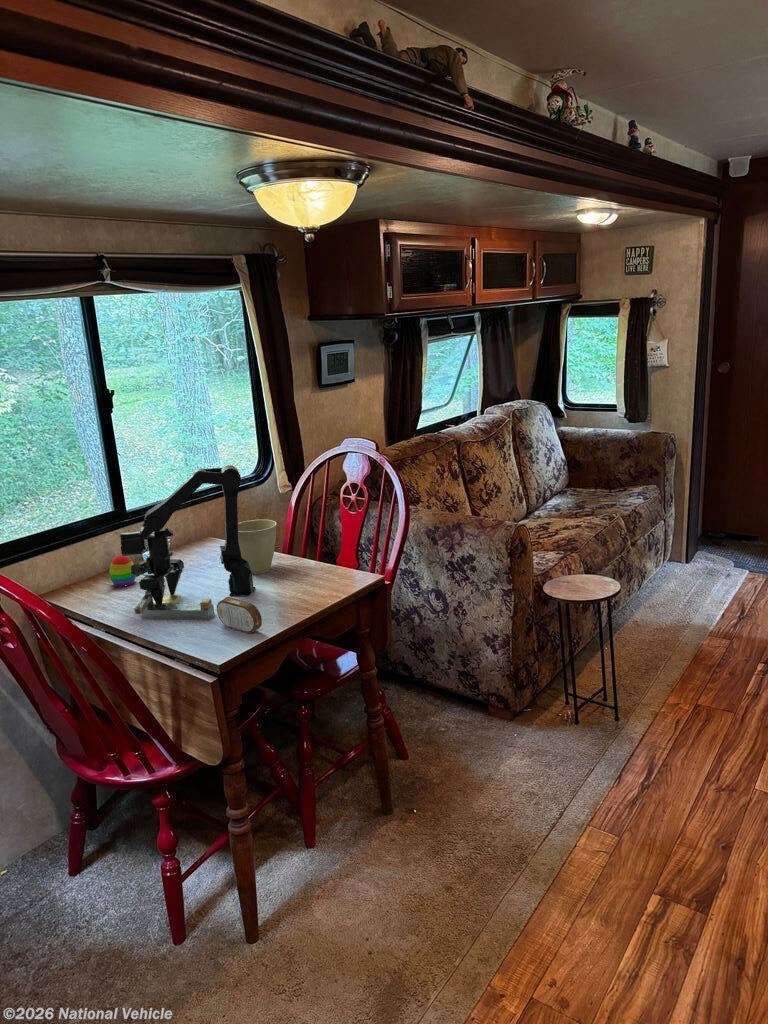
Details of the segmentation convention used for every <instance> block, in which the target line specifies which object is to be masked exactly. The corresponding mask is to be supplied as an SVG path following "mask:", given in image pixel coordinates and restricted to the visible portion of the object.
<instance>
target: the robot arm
mask: <svg viewBox="0 0 768 1024" xmlns="http://www.w3.org/2000/svg"><path fill="white" fill-rule="evenodd" d="M191 474H192V475H190V476H189V477H188V478H187V479H186V480H185V481H184V482H183V483H181V484H180V486H178V488H176V489H175V490H174V492H172V493H171V494H170V495H169V496H168V497H167V498H166V499H164V500H163V501H162V502H159V503H158V504H156V505H155V506H153V507H151V508H150V509H148V510H147V511H146V512H145V515H144V519H143V524H142V526H140V530H139V531H133V532H132V531H130V532H121V533H120V535H119V538H120V553H121V555H122V556H127V557H129V556H136V555H137V556H138V555H142V554H144V551H146V550H147V547H148V554H149V555H148V556H147V557H146V559H145V560H141V561H140V562H136V563H133V565H131V574H133V575H136V578H138V577H141V575H144V574H147V575H145V576H144V577H143V578H142V579H140V580H139V582H138V587H139V589H140V590H143V591H152V598H153V600H154V601H155V602H156V604H162V602H163V596H164V595H165V591H166V585H165V582H166V584H167V588H168V591H169V595H176V594H175V593H176V590H177V587H178V584H179V582H180V579H181V575H182V573H183V571H184V570H183V569H185V564H184V561H183V560H182V559H180V558H179V559H173V558H172V559H171V557H172V556H173V551H170V547H169V540H168V537H174V530H171V529H170V528H169V526H166V524H167V523H168V522H169V520H170V519H171V517H172V515H173V514H174V513H175V511H176V510H177V509H178V508H179V507H180V506H181V505H182V504H184V502H185V501H186V500H187V499H189V498H190V497H191V496H192V495H193V494H194V493H195V492H196V491H197V490H198V489H199V488H200V487H201V486H203V485H205V484H209V485H216V486H218V485H219V486H220V485H221V487H222V492H223V498H224V499H223V500H224V523H225V525H224V528H225V542H224V545H220V546H219V548H220V558H219V559H220V563H221V565H223V567H224V570H225V571H226V572H228V573H230V574H229V579H227V580H228V589H229V592H230V593H229V597H233V596H234V597H235V596H238V597H239V596H241V597H242V596H243V597H244V596H245V597H247V596H251V595H252V593H253V592H254V591H255V590H256V586H254V579H253V577H254V576H253V574H252V572H251V569H250V566H249V563H248V562H247V561H246V560H245V559H243V558H242V556H241V551H240V547H239V542H238V523H239V519H238V518H239V517H238V513H239V512H238V495H239V491H240V485H241V480H242V479H241V478H242V477H241V474H240V471H239V469H238V468H237V467H236V466H234V465H233V464H232V465H231V464H228V465H224V466H222V467H213V468H211V467H210V468H196V469H195V470H194V472H193V473H191ZM165 526H166V527H165ZM164 527H165V528H164ZM146 540H147V543H146ZM165 579H166V581H165Z"/></svg>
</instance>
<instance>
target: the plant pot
mask: <svg viewBox="0 0 768 1024" xmlns="http://www.w3.org/2000/svg"><path fill="white" fill-rule="evenodd" d="M277 525H278V524H277V522H276V521H275V520H271V519H253V520H245V521H242V522H238V542H239V547H240V551H241V556H242V558H243V559H245V560H246V561H247V562H248V563H249V566H250V569H251V572H252V575H258V574H265V573H268V572H269V571H270V570H271V567H272V563H273V558H274V553H275V547H276V539H277Z"/></svg>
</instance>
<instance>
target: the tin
mask: <svg viewBox="0 0 768 1024" xmlns="http://www.w3.org/2000/svg"><path fill="white" fill-rule="evenodd" d="M216 611H217V616H218V619H219V620H220V622H221V623H222V625H224V626H225V627H226V628H230V629H233V630H236V631H240V632H243V633H246V634H252V633H254V632H255V631H257V630H259V629H260V628H261V626H262V624H263V618H262V615H261V612H260V611H259V609H258V607H256V605H255V604H254V603H252V602H250V601H248V600H247V601H246V600H243V599H240V598H235V597H233V596H226V597H225V598H223V599H222V600H219V602H218V603H217V604H216Z"/></svg>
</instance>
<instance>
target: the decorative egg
mask: <svg viewBox="0 0 768 1024" xmlns="http://www.w3.org/2000/svg"><path fill="white" fill-rule="evenodd" d="M133 564H134V562H133V560H132V559H130V557H129V556H122V554H119V555H116V556H115V557H114V558H113V560H111V563H110V566H109V573H108V574H109V578H110V580H111V582H112V584H114V585H115V586H116V585H117V586H116V587H118V586H124V587H126V586H125V585H129V584H131V585H133V584H134V583H135V581H136V578H137V577H136V575H133V574H131V565H133ZM132 583H133V584H132ZM129 586H130V585H129Z"/></svg>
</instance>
